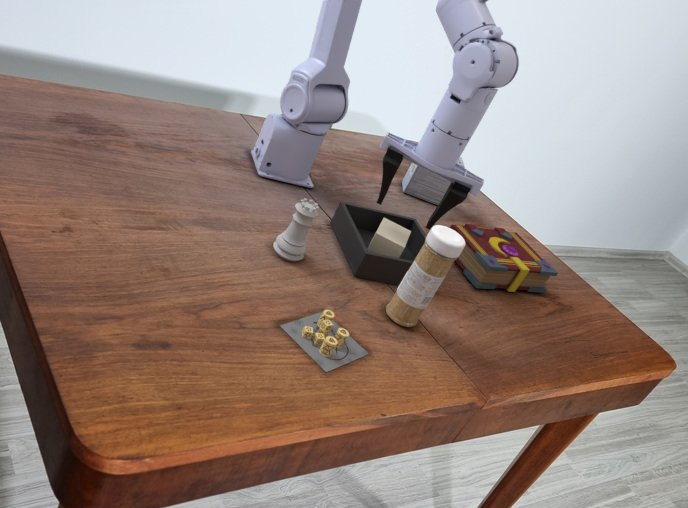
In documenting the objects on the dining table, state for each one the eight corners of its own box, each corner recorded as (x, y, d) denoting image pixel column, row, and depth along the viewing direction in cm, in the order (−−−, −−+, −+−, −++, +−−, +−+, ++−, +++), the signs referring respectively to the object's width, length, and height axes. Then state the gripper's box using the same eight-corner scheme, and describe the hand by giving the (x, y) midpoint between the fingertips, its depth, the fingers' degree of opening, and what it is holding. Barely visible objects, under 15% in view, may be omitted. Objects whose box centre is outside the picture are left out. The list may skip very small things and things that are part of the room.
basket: (353, 276, 97) (366, 253, 95) (329, 222, 107) (340, 200, 105) (434, 292, 102) (447, 270, 99) (404, 239, 112) (415, 218, 110)
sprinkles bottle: (403, 305, 96) (452, 224, 88) (422, 328, 93) (474, 246, 85) (378, 305, 93) (425, 222, 86) (396, 329, 90) (447, 245, 83)
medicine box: (439, 197, 131) (462, 157, 126) (442, 208, 127) (466, 167, 123) (400, 182, 130) (422, 141, 125) (402, 192, 126) (424, 150, 122)
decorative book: (437, 244, 114) (452, 219, 112) (507, 252, 122) (523, 229, 120) (475, 290, 107) (492, 264, 104) (547, 295, 115) (565, 271, 112)
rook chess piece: (307, 255, 97) (330, 206, 93) (295, 267, 93) (318, 217, 89) (279, 238, 98) (301, 190, 93) (266, 250, 94) (288, 200, 90)
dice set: (322, 320, 86) (328, 308, 85) (351, 347, 83) (358, 335, 82) (294, 329, 82) (300, 317, 81) (324, 358, 80) (331, 346, 79)
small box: (364, 255, 102) (376, 232, 99) (372, 238, 107) (383, 217, 105) (392, 269, 101) (404, 247, 99) (399, 252, 106) (411, 231, 104)
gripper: (502, 144, 96) (453, 226, 103) (405, 97, 97) (364, 181, 104) (500, 160, 90) (448, 245, 97) (397, 109, 91) (353, 197, 98)
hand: (404, 213), depth 100 cm, fingers open, 7 cm apart
